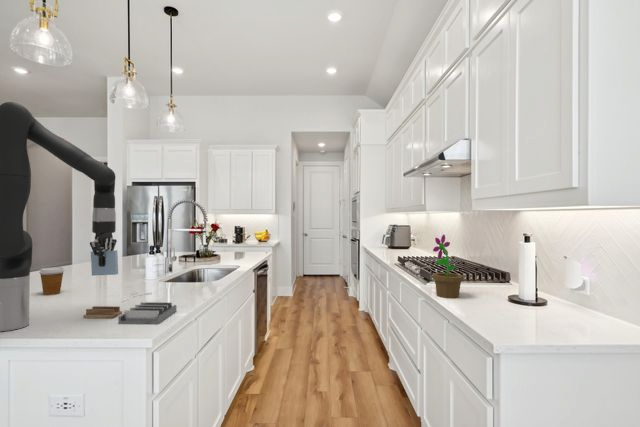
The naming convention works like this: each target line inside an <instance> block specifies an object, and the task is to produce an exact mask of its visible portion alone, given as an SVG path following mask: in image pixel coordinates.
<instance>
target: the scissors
mask: <svg viewBox="0 0 640 427" xmlns="http://www.w3.org/2000/svg"><path fill="white" fill-rule="evenodd" d="M137 294H138V295H137ZM148 295H152V292H144V293H143V294H139V292H137V291H132V292H131V293H130V296H128V297H126V298H127V299H126V298H122V299H118V300H117V302H119V300H120V301H121V303H123V302H125V301H128V300H130V299H132V298H135V297H141V296H148Z"/></svg>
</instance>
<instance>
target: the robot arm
mask: <svg viewBox="0 0 640 427" xmlns="http://www.w3.org/2000/svg"><path fill="white" fill-rule="evenodd" d="M28 140H29V141H31V142H33V143H34V144H36V145H38V146H39V147H42V148H43V149H44V150H46V151H47V152H49V153H50V154H52V155H53V156H54V157H56V158H58V159H59V160H60V161H62V162H63V163H65V164H66V165H67V166H69V167H71V168H73V169H74V170H75V171H78V172H80V173H82V174H83V175H85V176H86V177H88V178H89V179H91V180H92V181H93V183H94V184H93V185H94V194H93V203H92V206H93V208H92V216H91V217H92V224H91V227H92V228H91V232H92V233H93V234H95V236H94V240H93V241H90V242H89V246H90V247H91V250H92V251H93V253H94V255H97V256H98V257H99V266H100V267H104V266H105V256H106V251H113V250H115V247H116V244H117V242H118V241H117V239H114V238H113V234H115V233H116V230H117V229H116V227H117V225H116V220H117V215H116V214H117V213H116V197H115V192H116V191H115V188H116V187H115V186H116V172H115V171H114V170H113V169H111V168H110V167H109V166H108V165H105V164H104V163H102V162H100V161H98V160H97V159H94V157H92V156H91V155H90V154H88V153H87V152H85V151H84V150H82V149H81V148H79V146H78V147H77V146H76V145H74V144H73V143H71V142H69V141H68V140H65V139H64V138H62V137H61V136H58V135H57V134H56V133H53V132H52V131H51V130H49V129H48V128H47V127H45V126H44V125H43V124H42V123H41V122H40V121H39V120H37V119H36V118H35V116H33V114H32V113H31V112H30V111H29V109H27V107H25V106H24V105H22V104H20V103H18V102H16V101H15V102H14V101H6V102H3V103H1V104H0V332H5V331H6V332H7V331H14V330H18V329H22V328H25V327H27V326H29V325H30V283H31V282H30V278H31V277H30V274H31V273H30V271H31V267H32V262H33V238H32V236H31V235H30V233H28V232H27V231H26V230H24V213H25V209H26V207H27V204H28V202H29V198H30V194H31V189H32V186H31V185H32V184H31V183H32V171H31V162H30V158H29V153H28V144H27V143H28ZM102 251H103V252H102Z"/></svg>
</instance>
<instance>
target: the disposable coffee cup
mask: <svg viewBox="0 0 640 427" xmlns="http://www.w3.org/2000/svg"><path fill="white" fill-rule="evenodd" d="M64 272H65V269H64V267H60V266H54V267H53V266H52V267H44V268H40V270H39V274H40V280H41V286H42V295H43V296H54V295H58V294H61V290H62V284H63V278H64V277H63V276H64Z"/></svg>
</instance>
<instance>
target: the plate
mask: <svg viewBox="0 0 640 427" xmlns="http://www.w3.org/2000/svg"><path fill="white" fill-rule="evenodd" d="M102 252H103V251H102ZM90 264H91V276H116V275H119V260H118V250H115V249H114V250H113V251H106V256H105V266H104V267H100V266H99V257H98V256H97V255H94V253H93V250H92V251H90Z"/></svg>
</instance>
